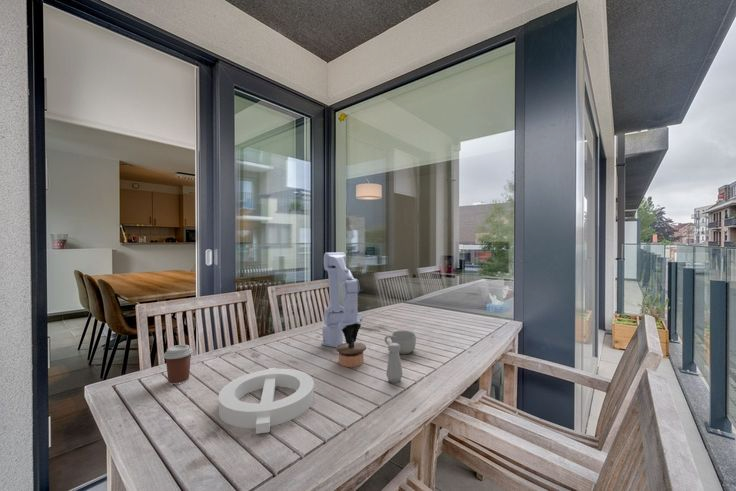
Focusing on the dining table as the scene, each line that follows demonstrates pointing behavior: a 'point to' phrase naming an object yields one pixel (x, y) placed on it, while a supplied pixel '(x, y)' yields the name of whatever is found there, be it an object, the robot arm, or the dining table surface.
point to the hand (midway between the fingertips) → (350, 342)
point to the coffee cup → (178, 363)
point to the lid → (351, 347)
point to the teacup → (403, 341)
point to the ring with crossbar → (265, 399)
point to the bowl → (351, 359)
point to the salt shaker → (394, 363)
